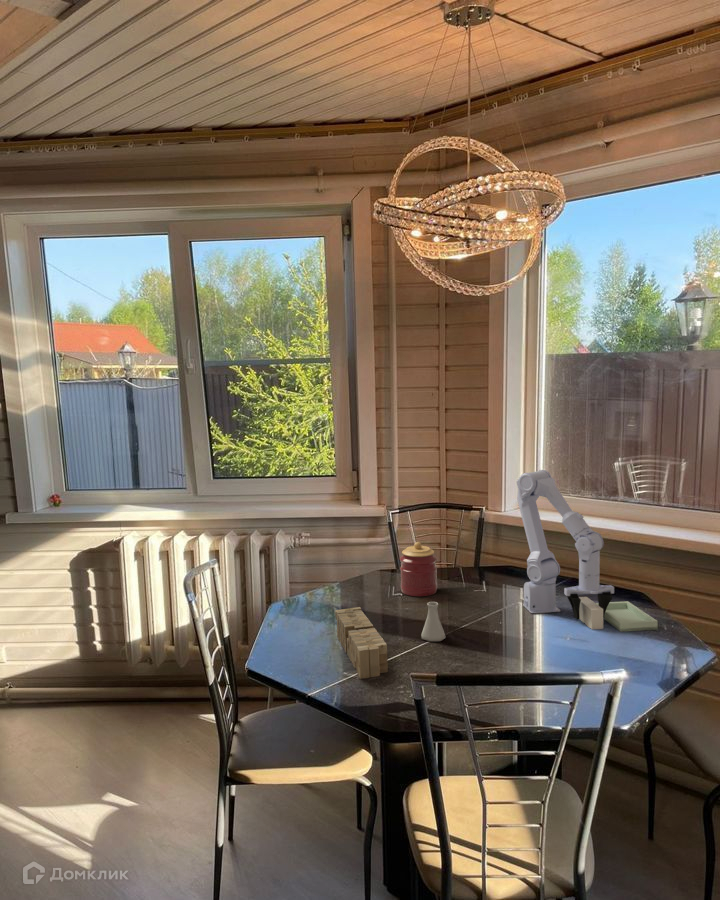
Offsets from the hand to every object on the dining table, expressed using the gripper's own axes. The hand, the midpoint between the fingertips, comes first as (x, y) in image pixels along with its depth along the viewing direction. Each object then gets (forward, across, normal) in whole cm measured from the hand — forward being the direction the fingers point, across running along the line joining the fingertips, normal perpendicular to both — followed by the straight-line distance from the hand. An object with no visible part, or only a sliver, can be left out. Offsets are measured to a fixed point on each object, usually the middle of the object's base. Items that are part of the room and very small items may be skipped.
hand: (589, 617), depth 188 cm
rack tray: (+1, +11, 0) cm, 11 cm away
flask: (+2, -48, -4) cm, 48 cm away
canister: (+2, -45, +37) cm, 58 cm away
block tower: (+2, -70, -12) cm, 71 cm away
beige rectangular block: (+2, 0, 0) cm, 2 cm away
